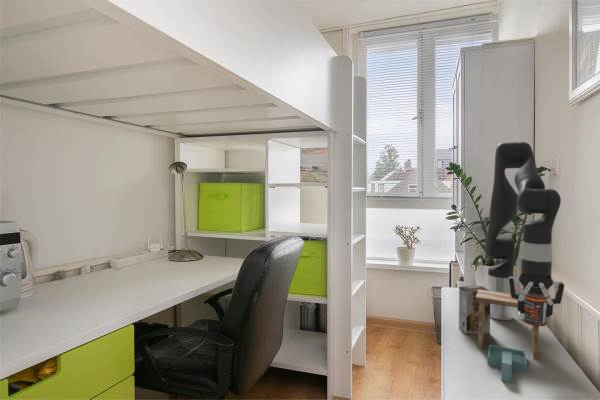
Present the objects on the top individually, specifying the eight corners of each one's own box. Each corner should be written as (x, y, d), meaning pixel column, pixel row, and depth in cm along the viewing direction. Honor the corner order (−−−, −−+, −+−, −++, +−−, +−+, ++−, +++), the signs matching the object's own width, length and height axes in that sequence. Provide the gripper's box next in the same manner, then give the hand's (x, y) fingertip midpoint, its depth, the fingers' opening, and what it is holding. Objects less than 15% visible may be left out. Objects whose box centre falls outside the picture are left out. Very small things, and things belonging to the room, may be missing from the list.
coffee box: (481, 327, 145) (482, 285, 145) (490, 334, 139) (491, 290, 138) (457, 327, 145) (458, 285, 144) (465, 334, 139) (466, 290, 138)
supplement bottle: (520, 323, 111) (521, 285, 110) (525, 318, 115) (526, 281, 115) (544, 329, 107) (545, 289, 106) (548, 323, 111) (549, 285, 111)
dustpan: (489, 351, 124) (489, 336, 124) (525, 358, 119) (525, 342, 119) (485, 376, 107) (486, 359, 107) (527, 386, 103) (528, 368, 102)
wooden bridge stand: (477, 336, 137) (478, 289, 136) (539, 347, 128) (540, 297, 127) (474, 347, 127) (475, 297, 127) (541, 360, 118) (543, 306, 117)
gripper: (564, 257, 110) (562, 314, 111) (507, 253, 117) (506, 307, 118) (568, 263, 103) (566, 323, 104) (508, 257, 110) (506, 314, 111)
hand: (534, 314), depth 111 cm, fingers closed on supplement bottle, 6 cm apart
